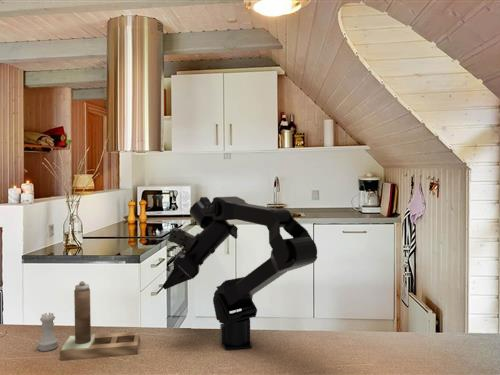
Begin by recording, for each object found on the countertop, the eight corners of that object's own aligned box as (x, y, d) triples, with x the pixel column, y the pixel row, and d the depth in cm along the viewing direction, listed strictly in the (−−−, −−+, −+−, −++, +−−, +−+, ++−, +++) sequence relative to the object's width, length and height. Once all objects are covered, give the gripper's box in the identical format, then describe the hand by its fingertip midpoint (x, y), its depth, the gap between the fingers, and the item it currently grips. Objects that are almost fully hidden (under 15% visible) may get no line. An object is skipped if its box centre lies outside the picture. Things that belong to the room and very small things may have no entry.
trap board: (139, 339, 105) (139, 330, 105) (137, 353, 97) (137, 344, 97) (69, 344, 102) (69, 335, 102) (59, 360, 93) (59, 350, 93)
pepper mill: (91, 338, 101) (91, 279, 100) (89, 343, 97) (88, 282, 97) (76, 339, 100) (75, 279, 100) (73, 344, 97) (72, 283, 96)
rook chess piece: (50, 352, 98) (49, 317, 98) (33, 351, 99) (32, 316, 99) (62, 345, 102) (61, 312, 102) (45, 343, 103) (45, 311, 103)
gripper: (190, 213, 116) (149, 254, 116) (183, 220, 97) (135, 268, 97) (219, 242, 117) (179, 282, 116) (218, 253, 98) (170, 302, 98)
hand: (166, 283), depth 107 cm, fingers open, 9 cm apart
